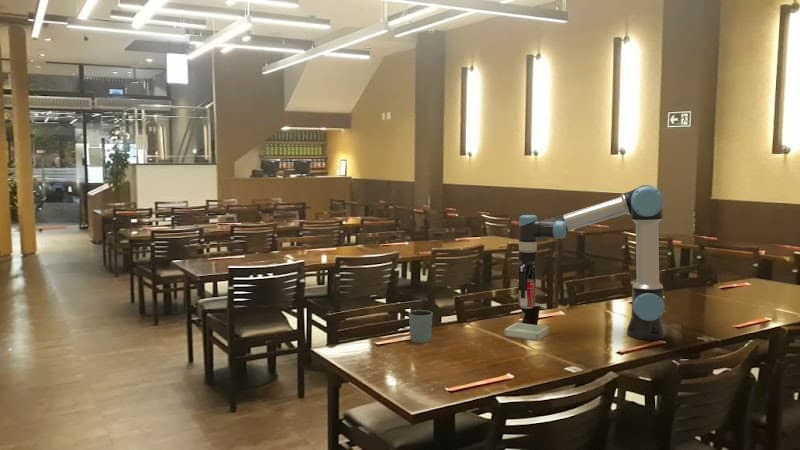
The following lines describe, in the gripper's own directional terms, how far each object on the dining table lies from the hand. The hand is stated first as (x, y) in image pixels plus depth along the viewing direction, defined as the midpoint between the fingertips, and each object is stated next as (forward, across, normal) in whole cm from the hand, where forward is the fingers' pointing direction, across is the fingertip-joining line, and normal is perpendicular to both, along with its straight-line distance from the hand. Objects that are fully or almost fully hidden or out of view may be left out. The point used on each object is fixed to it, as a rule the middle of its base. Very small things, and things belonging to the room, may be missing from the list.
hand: (526, 303), depth 280 cm
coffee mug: (+14, -17, -5) cm, 23 cm away
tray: (+14, 0, 0) cm, 14 cm away
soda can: (+2, 0, 0) cm, 2 cm away
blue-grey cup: (+14, +31, -35) cm, 49 cm away
